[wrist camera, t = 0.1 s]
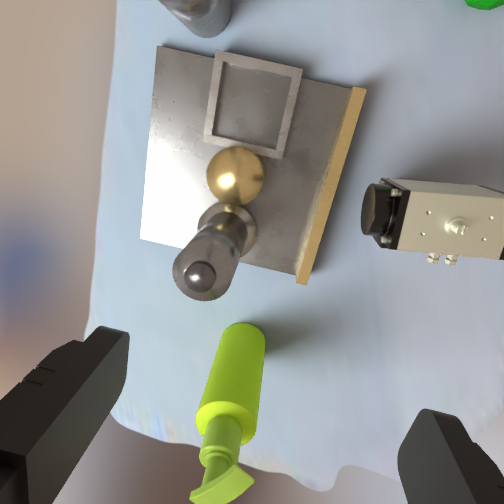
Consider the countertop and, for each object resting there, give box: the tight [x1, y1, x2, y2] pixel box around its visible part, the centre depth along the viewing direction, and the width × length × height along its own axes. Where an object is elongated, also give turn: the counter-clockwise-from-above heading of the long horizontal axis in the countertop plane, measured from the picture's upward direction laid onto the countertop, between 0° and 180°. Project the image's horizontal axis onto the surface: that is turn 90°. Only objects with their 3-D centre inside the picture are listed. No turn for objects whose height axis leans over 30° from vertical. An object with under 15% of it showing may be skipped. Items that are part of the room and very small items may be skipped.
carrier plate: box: [140, 46, 367, 301], centre depth 29 cm, size 21×20×14 cm
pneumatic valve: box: [361, 178, 504, 265], centre depth 30 cm, size 6×12×12 cm, turn 86°
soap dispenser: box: [190, 323, 266, 504], centre depth 34 cm, size 6×7×20 cm
